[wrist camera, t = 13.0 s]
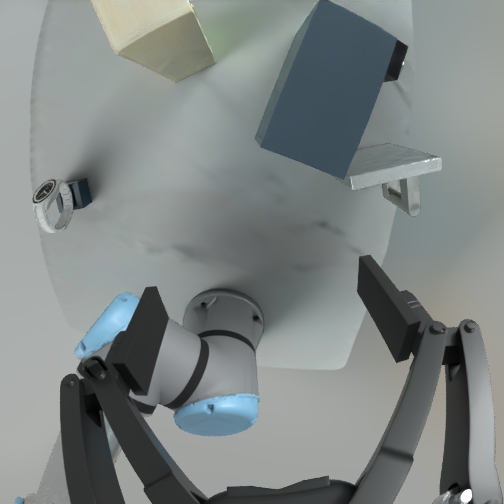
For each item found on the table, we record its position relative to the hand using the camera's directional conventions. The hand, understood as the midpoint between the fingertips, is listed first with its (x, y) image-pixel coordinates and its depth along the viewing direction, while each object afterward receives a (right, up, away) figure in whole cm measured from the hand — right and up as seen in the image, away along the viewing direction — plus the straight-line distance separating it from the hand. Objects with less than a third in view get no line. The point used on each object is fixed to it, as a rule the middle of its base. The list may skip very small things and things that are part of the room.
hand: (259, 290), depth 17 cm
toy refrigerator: (-9, +31, +13) cm, 35 cm away
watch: (-30, +13, +22) cm, 40 cm away
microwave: (+8, +24, +17) cm, 31 cm away
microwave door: (+16, +14, +22) cm, 31 cm away
